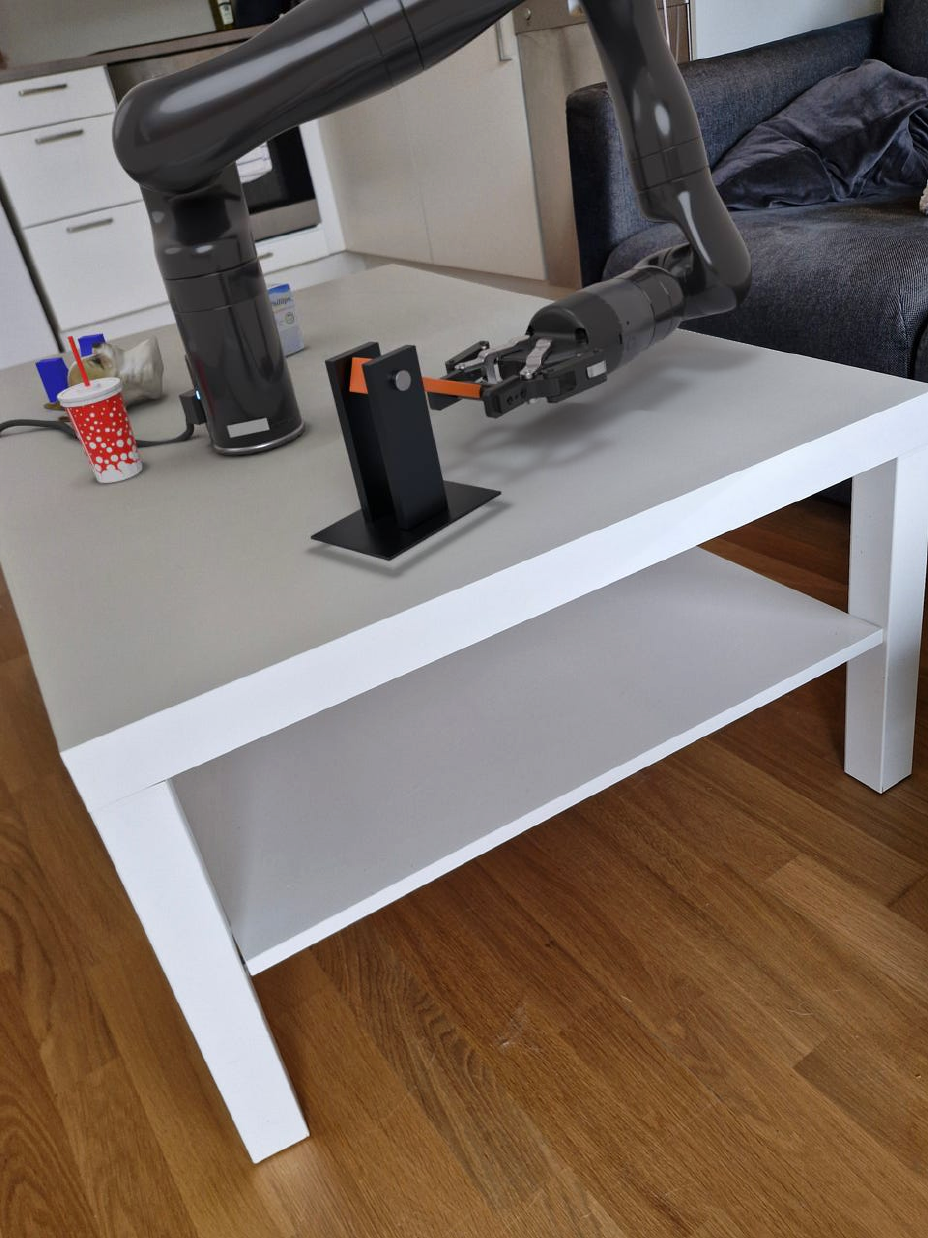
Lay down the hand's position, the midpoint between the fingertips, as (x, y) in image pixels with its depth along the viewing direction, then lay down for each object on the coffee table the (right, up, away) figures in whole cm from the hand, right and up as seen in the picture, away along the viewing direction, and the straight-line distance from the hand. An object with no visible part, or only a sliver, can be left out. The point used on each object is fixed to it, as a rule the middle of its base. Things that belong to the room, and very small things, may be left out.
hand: (459, 402), depth 80 cm
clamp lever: (-3, 0, -2) cm, 4 cm away
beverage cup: (-34, -2, +24) cm, 42 cm away
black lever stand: (-4, -10, -1) cm, 11 cm away
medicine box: (-25, +18, +58) cm, 65 cm away
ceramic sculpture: (-42, +8, +46) cm, 62 cm away
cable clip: (-50, +13, +57) cm, 78 cm away
